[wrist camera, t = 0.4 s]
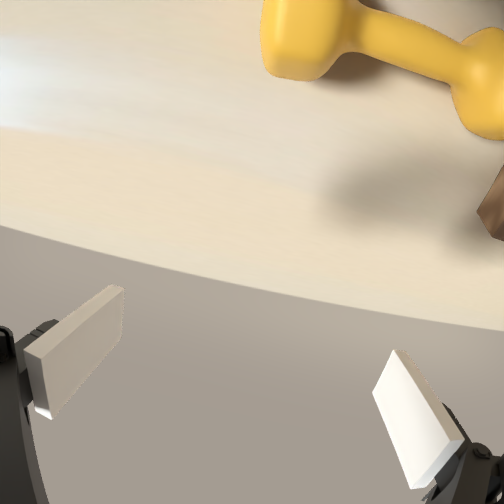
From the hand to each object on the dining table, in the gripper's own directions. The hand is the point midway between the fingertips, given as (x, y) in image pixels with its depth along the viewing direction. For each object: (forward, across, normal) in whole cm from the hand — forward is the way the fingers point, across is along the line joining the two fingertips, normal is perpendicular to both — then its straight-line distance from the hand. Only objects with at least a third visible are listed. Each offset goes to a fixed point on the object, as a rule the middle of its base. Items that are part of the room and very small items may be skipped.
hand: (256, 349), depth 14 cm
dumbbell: (+9, +5, +21) cm, 23 cm away
